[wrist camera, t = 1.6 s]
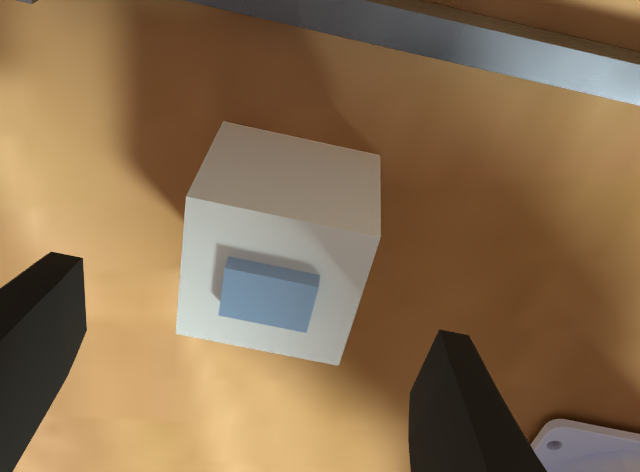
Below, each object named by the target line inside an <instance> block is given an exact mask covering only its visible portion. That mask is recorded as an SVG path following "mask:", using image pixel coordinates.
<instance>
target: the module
mask: <svg viewBox="0 0 640 472" xmlns="http://www.w3.org/2000/svg"><path fill="white" fill-rule="evenodd" d="M380 238H381V179H380V155H378V154H373V153H369V152H364V151H359V150H355V149H350V148H345V147H341V146H336V145H332V144H327V143H322V142H318V141H313V140H309V139H304V138H299V137H295V136H290V135H286V134H281V133H276V132H272V131H267V130H263V129H258V128H253V127H249V126H244V125H239V124H235V123H230V122H226V121H223V122H222V124H221V126H220V128H219V130H218V132H217V134H216V136H215V138H214V140H213V142H212V144H211V146H210V148H209V151H208V153H207V155H206V157H205V159H204V161H203V163H202V165H201V167H200V169H199V171H198V173H197V175H196V177H195V179H194V181H193V183H192V185H191V187H190V189H189V191H188V193H187V195H186V203H185V216H184V230H183V243H182V256H181V270H180V283H179V297H178V310H177V323H176V334H180V335H185V336H190V337H195V338H200V339H205V340H210V341H215V342H220V343H225V344H230V345H235V346H240V347H245V348H251V349H256V350H261V351H266V352H271V353H276V354H281V355H286V356H291V357H296V358H301V359H306V360H311V361H316V362H321V363H327V364H332V365H337V366H339V363H340V360H341V357H342V354H343V351H344V348H345V345H346V342H347V339H348V336H349V333H350V330H351V327H352V324H353V321H354V318H355V315H356V312H357V309H358V306H359V302H360V299H361V296H362V293H363V290H364V287H365V284H366V281H367V278H368V275H369V272H370V269H371V266H372V263H373V260H374V257H375V254H376V251H377V248H378V245H379V242H380Z"/></svg>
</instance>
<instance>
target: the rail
mask: <svg viewBox="0 0 640 472" xmlns="http://www.w3.org/2000/svg"><path fill="white" fill-rule="evenodd" d="M17 1H21V2H26V3H30V4H33V3H35V2H37V1H38V0H17ZM184 1H188V2H192V3H197V4H201V5H205V6H210V7H214V8H218V9H223V10H227V11H231V12H236V13H240V14H244V15H249V16H253V17H257V18H262V19H266V20H270V21H275V22H279V23H283V24H288V25H292V26H296V27H301V28H305V29H309V30H314V31H318V32H322V33H327V34H331V35H335V36H340V37H344V38H348V39H353V40H357V41H361V42H366V43H370V44H375V45H379V46H383V47H388V48H392V49H396V50H401V51H405V52H409V53H414V54H418V55H422V56H427V57H431V58H435V59H440V60H444V61H448V62H453V63H457V64H461V65H466V66H470V67H474V68H479V69H483V70H487V71H492V72H496V73H500V74H505V75H509V76H513V77H518V78H522V79H526V80H531V81H535V82H539V83H544V84H548V85H552V86H557V87H561V88H565V89H570V90H574V91H578V92H583V93H587V94H591V95H596V96H600V97H604V98H609V99H613V100H617V101H622V102H626V103H630V104H635V105H639V106H640V52H637V51H632V50H628V49H624V48H620V47H615V46H611V45H607V44H603V43H598V42H594V41H590V40H586V39H581V38H577V37H573V36H569V35H564V34H560V33H556V32H552V31H548V30H543V29H539V28H535V27H531V26H526V25H522V24H518V23H514V22H509V21H505V20H501V19H497V18H492V17H488V16H484V15H480V14H475V13H471V12H467V11H463V10H458V9H454V8H450V7H446V6H442V5H437V4H433V3H429V2H425V1H420V0H184Z"/></svg>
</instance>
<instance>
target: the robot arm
mask: <svg viewBox="0 0 640 472" xmlns="http://www.w3.org/2000/svg"><path fill="white" fill-rule="evenodd" d="M86 331H87V327H86V308H85V290H84V272H83V258H80V257H75V256H70V255H65V254H60V253H55V252H50V253H49V254H47V255H46V256H44V257H43V258H41V259H40V260H39V261H37V262H36V263H34V264H33V265H32V266H30V267H29V268H28V269H26V270H25V271H24V272H22V273H21V274H19V275H18V276H17V277H15V278H14V279H13V280H11V281H10V282H8V283H7V284H6V285H4V286H3V287H2V288H0V472H13V470H14V468H15V466H16V465H17V463H18V461H19V460H20V458H21V456H22V454H23V453H24V451H25V449H26V447H27V446H28V444H29V442H30V441H31V439H32V437H33V435H34V434H35V432H36V430H37V428H38V427H39V425H40V423H41V422H42V420H43V418H44V416H45V415H46V413H47V411H48V409H49V408H50V406H51V404H52V402H53V401H54V399H55V397H56V395H57V394H58V392H59V390H60V388H61V387H62V385H63V383H64V381H65V379H66V378H67V376H68V374H69V371H70V369H71V367H72V364H73V362H74V360H75V358H76V355H77V353H78V350H79V348H80V345H81V343H82V340H83V338H84V336H85V333H86ZM409 453H410V464H411V472H640V434H637V433H632V432H627V431H622V430H617V429H612V428H607V427H602V426H597V425H592V424H587V423H582V422H577V421H572V420H567V419H553V420H551V421H549V422H548V423H546V424H545V425H544V427H543V428H542V429H541V431H540V432H539V434H538V435H537V436H536V438H535V439H534V441H533V442H532V443H531V445H530V444H529V442H528V441H527V439H526V437H525V436H524V434H523V432H522V431H521V429H520V427H519V426H518V424H517V422H516V421H515V419H514V417H513V415H512V414H511V412H510V410H509V409H508V407H507V405H506V403H505V402H504V400H503V398H502V396H501V394H500V393H499V391H498V389H497V387H496V385H495V383H494V382H493V380H492V378H491V376H490V374H489V372H488V370H487V369H486V367H485V365H484V363H483V361H482V359H481V357H480V355H479V353H478V352H477V350H476V348H475V346H474V344H473V342H472V340H471V339H470V337H469V335H464V334H459V333H454V332H449V331H444V330H439V332H438V334H437V336H436V338H435V340H434V342H433V344H432V347H431V349H430V351H429V353H428V355H427V357H426V359H425V362H424V364H423V366H422V368H421V370H420V372H419V374H418V377H417V379H416V381H415V383H414V385H413V387H412V389H411V392H410V405H409Z"/></svg>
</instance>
